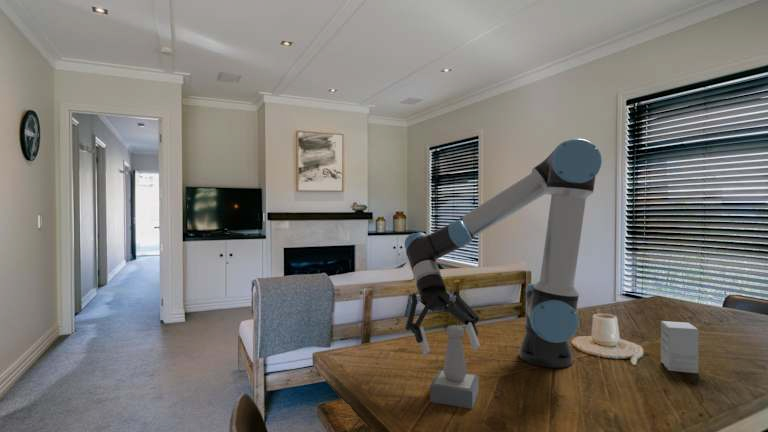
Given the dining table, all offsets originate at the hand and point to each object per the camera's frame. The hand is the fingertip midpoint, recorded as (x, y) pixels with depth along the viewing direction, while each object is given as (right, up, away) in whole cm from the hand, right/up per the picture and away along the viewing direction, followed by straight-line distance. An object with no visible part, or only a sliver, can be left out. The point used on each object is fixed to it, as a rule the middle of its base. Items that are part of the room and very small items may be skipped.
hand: (452, 351), depth 103 cm
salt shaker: (0, -7, -1) cm, 7 cm away
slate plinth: (0, -11, -1) cm, 11 cm away
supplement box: (+68, -11, +17) cm, 71 cm away
